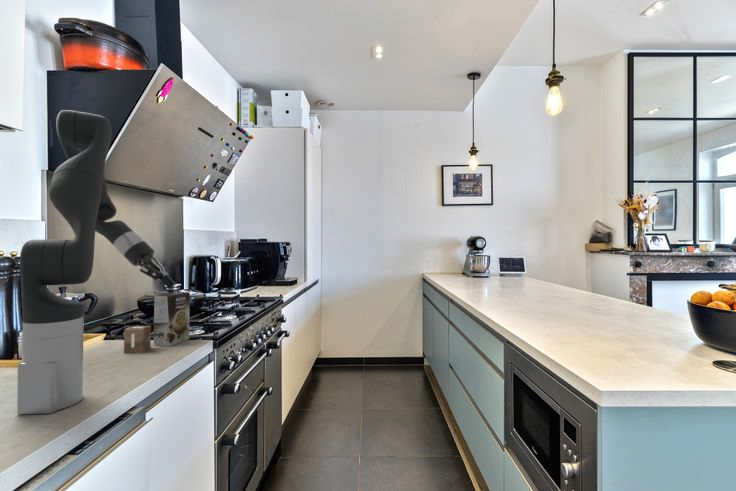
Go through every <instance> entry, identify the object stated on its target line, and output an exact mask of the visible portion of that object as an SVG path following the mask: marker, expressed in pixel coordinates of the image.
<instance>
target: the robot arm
mask: <svg viewBox="0 0 736 491" xmlns="http://www.w3.org/2000/svg"><path fill="white" fill-rule="evenodd" d="M55 124H56V132H57V136H58V141H59V142H60V144H61V148H62V149H63V153H64V154H65V157H66V159H67V160H66V161H63V163H61V164H59V166H58V167H56V169H55V170H54V172H53V175H52V178H51V183H50V187H49V192H48V196H49V200H50V201H51V204H52V205H53V206H54V208H55V209H56V210H57V211H58V213H59V214H60V215H61V216H62V217H63V218H64V220H65V221H67V223H68V225H69V226H70V227H71V229H72V231H73V233H74V235H75V236H74V238H73V239H30V240H27V241H26V242H25V243H24V244H23V246H22V247H21V251H20V256H19V272H20V284H21V285H20V287H21V311H22V339H21V340H22V341H21V345H22V347H21V348H22V349H21V354H22V355H21V357H22V358H21V362H20V363H19V364H18V365H17V389H16V390H17V397H16V399H17V403H16V405H17V407H16V409H17V411H16V414H17V415H35V414H37V415H39V414H52V413H55V412H56V411H59V410H62V409H65V408H68V407H71V406H73V405H75V404H77V403H79V402H80V401H81V400H83V398H84V395H83V394H84V393H83V392H84V390H83V388H84V317H85V316H84V314H85V313H84V309H85V308H84V304H83V303H82V302H80V301H79V300H74V299H69V298H65V297H61V296H60V295H56V294H54V293H53V292H52V291H50V289H49V287H48V286H65V285H81V284H82V285H83V284H85V283H86V282H88V281H89V279H90V277H91V275H92V272H93V268H94V259H95V258H94V257H95V241H96V240H95V239H96V233H98V234H100V235H101V236H102V237H104V238H106V239H107V240H108V242H110V244H111V245H113V246H114V247H115V248H116V250H117V252H118V253H120V254H121V255H122V256H123V257H124V258H125V259H126V260H127V261H128V262H129V263H130V264H131V265H132V266H135V267H137V266H139V267H141V268H139V272H141V273H143V274H144V275H146V276H149V277H150V278H152V279H154V280H155V281H156V280H158V281H160V282H162V283H163V284H164V285H165V286H166V287H167V288H168V289H171V288H174V286H175V285H176V282H175V281H174V280H173V279H172V277H170V276H169V274H170V273H171V272H170V269H169V268H168V266H167V264H166V263H165V262H162V263H160V260H159V259H157V258H155V257H154V254H155V250H154V249H153V248H152V247H151V246H150V245H149V244H148V243H147V242H146V241H145V240H144V239H143V238H142V237H141V236H140V235H138V234H137V233H136V232H135V231H134V230H133V229H131V227H129V226H128V225H127V224H126V222H124V221H122V220H120V219H119V220H118V219H117V220H113V221H108V220H111V219H112V218H114V217H115V216H116V214H117V208H116V205H115V204H114V203H113V201H112V200H111V198H110V196H109V193H108V186H107V179H106V178H105V176H104V174H105V166H106V161H107V158H108V153H109V149H110V147H111V146H110V145H111V142H112V135H113V134H112V132H113V131H112V125H111V122H110V120H109V119H108V118H106V116H103V115H99V114H95V113H91V112H84V111H77V110H70V109H61V110H60V111H59V112H58V114H57V117H56V123H55ZM81 149H84V150H83V151H82V150H81Z"/></svg>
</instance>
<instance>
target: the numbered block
mask: <svg viewBox="0 0 736 491" xmlns="http://www.w3.org/2000/svg"><path fill="white" fill-rule="evenodd" d="M123 334H124V335H123V354H143V353H145V352H146V351H149V350H150V349H151V348H152V336H151V335H152V325H133V326H131V327H128V328H125V329H124V330H123Z"/></svg>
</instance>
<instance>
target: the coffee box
mask: <svg viewBox="0 0 736 491" xmlns="http://www.w3.org/2000/svg"><path fill="white" fill-rule="evenodd" d="M190 295H191V292H183V291H182V292H181V291H180V292H179V291H177V292H168V293H162V294H156V295H154V300H153V302H154V304H153V305H154V308H153V309H154V311H153V312H154V313H153V342H152V343H153V346H162V347H171V346H172V347H173V346H174V345H177V344H179V343H183V342H186V341H188V340H190V307H191V306H190V303H191V301H190V297H191V296H190Z"/></svg>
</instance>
